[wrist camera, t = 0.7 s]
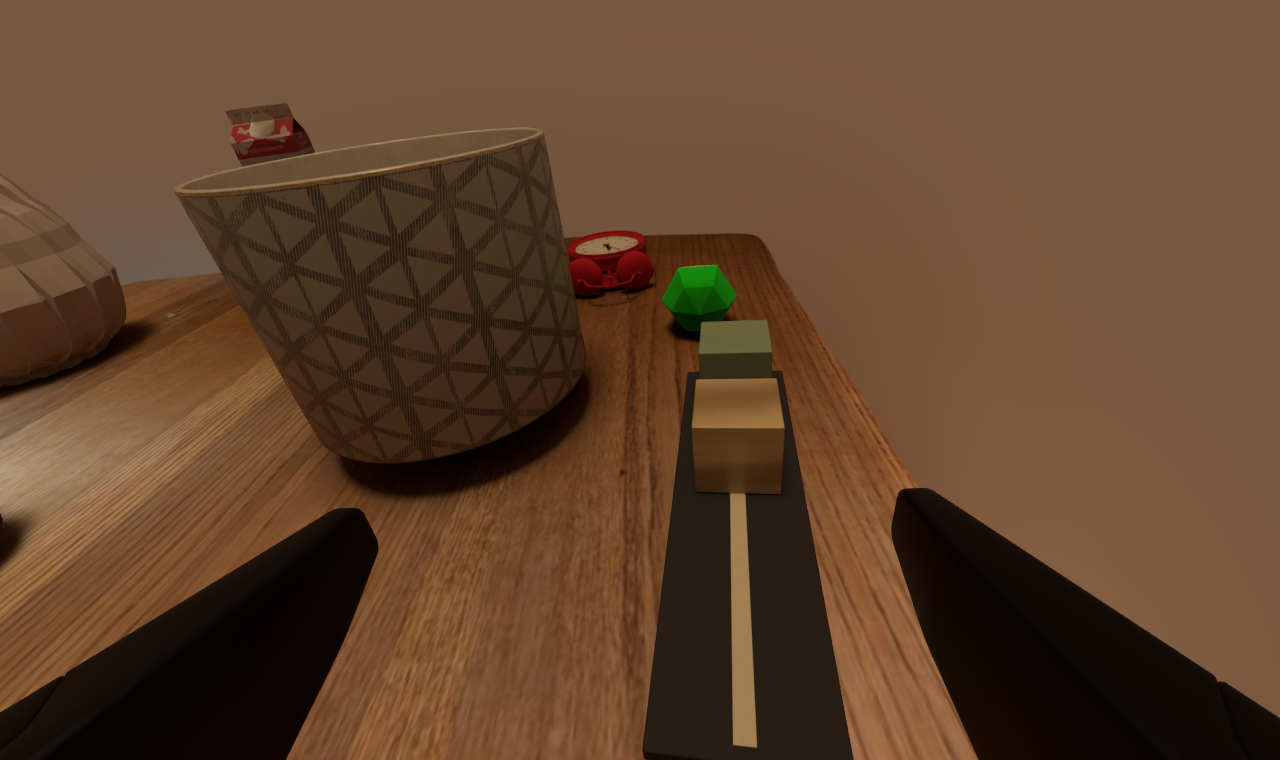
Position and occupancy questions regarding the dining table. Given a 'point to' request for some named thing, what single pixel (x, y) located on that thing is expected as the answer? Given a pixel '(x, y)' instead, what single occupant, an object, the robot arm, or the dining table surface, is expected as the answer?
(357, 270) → the planter
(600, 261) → the alarm clock
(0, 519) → the rock
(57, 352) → the vase
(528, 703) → the dining table surface
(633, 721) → the dining table surface
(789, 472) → the line mat
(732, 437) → the maple block
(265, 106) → the juice carton
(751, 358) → the sage block
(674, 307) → the apple
